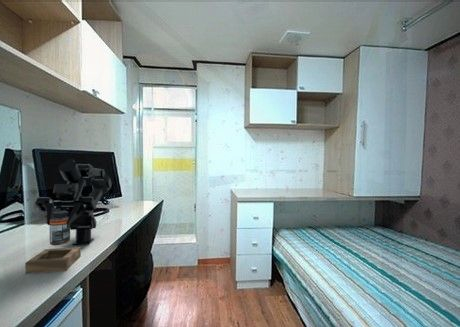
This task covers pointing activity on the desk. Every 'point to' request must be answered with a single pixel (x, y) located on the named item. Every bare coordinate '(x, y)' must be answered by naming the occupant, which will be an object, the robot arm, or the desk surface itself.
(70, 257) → the walnut pocket block
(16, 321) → the desk surface
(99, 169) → the robot arm
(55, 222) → the supplement bottle
